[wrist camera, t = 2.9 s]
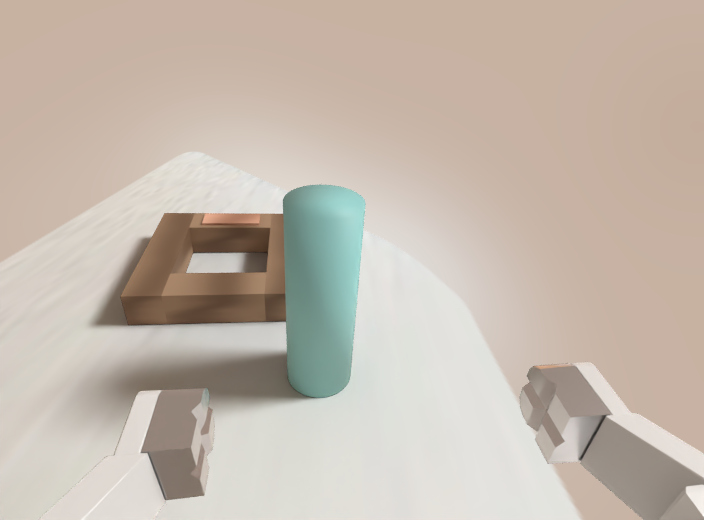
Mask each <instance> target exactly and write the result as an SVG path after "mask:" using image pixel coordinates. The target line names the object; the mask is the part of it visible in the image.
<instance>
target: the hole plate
mask: <svg viewBox="0 0 704 520" xmlns="http://www.w3.org/2000/svg"><path fill="white" fill-rule="evenodd" d="M193 252H268V259H267V270H266V272H257V273H186V271H187V268H188V265H189V262H190V260H191V257H192V254H193ZM120 298H121V301H122V305H123V308H124V311H125V315H126V318H127V322H128V325H145V324H184V323H222V322H260V321H286V296H285V258H284V220H283V214H209V213H165V214H164V215H163V217H162V219H161V221H160V223H159V225H158V227H157V229H156V230H155V232H154V234H153V236H152V238H151V240H150V242H149V244H148V245H147V247H146V249H145V251H144V253H143V255H142V257H141V259H140V260H139V262H138V264H137V266H136V268H135V270H134V272H133V274H132V275H131V277H130V279H129V281H128V283H127V285H126V287H125V289H124V290H123V292H122V294H121V296H120Z"/></svg>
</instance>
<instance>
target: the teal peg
mask: <svg viewBox="0 0 704 520" xmlns="http://www.w3.org/2000/svg"><path fill="white" fill-rule="evenodd" d="M364 214H365V200H364V199H363V197H362V196H361V195H359V194H358V193H356V192H354V191H352V190H350V189H347V188H343V187H339V186H332V185H310V186H303V187H300V188H297V189H294V190H292V191H290V192H289V193H287V194H286V195H285V197H284V199H283V220H284V258H285V296H286V334H287V372H288V380H289V382H290V384H291V385H292V387H293V388H294V389H295V390H296V391H298V392H299V393H301V394H303V395H306V396H309V397H315V398H323V397H329V396H332V395H335V394H337V393H338V392H340V391H341V390H343V389H344V388H345V387H346V385H347V384H348V382H349V379H350V374H351V362H352V351H353V340H354V328H355V317H356V306H357V294H358V283H359V271H360V260H361V249H362V237H363V226H364Z"/></svg>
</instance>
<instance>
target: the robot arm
mask: <svg viewBox="0 0 704 520" xmlns="http://www.w3.org/2000/svg"><path fill="white" fill-rule="evenodd" d="M527 377H528V379H529V381H530V382H529V383H528V384H527V385H525V386H524V387H523V388H522V391H521V394H520V408H521V412H522V415H523V417H524V419H525V421H526V423H527V425H529V426H530V427H531V428H533V429H534V430H535V431H537V433H536V438H535V441H536V442H537V444H538V446H539V448H540V450H541V452H542V454H543V456H544V458H545V459H546V461H547V463H548V464H551V463H566V462H580V464H581V465H582V466H583V467H584V468H585V469H587V470H588V471H589V472H590V473H591V474H592V475H593V476H595V477H596V478H597V479H598V480H599V481H600V482H602V484H604V485H605V486H606V487H607V488H608V489H609V490H610V491H612V492H613V493H614V494H615V495H616V496H617V497H618V498H619V499H621V500H622V501H623V502H624V503H625V504H626V505H628V506H629V507H630V508H631V509H632V510H633V511H634V512H635V513H637V514H638V515H639V516H640V517H641V518H642V519H643V520H704V454H703V453H702V452H700V451H699V450H697V449H695V448H694V447H692V446H690V445H689V444H687V443H685V442H684V441H682V440H680V439H679V438H677V437H676V436H674V435H672V434H670V433H669V432H667V431H666V430H664V429H662V428H661V427H659V426H657V425H655V424H654V423H652V422H651V421H649V420H648V419H646V418H644V417H643V416H641V415H639V414H638V413H634V414H632V413H631V412H630V411H629V409H628V408H627V407H626V406H625V404H624V403H623V402H622V400H621V399H620V398H619V397H618V395H617V394H616V393H615V391H614V390H613V389H612V388H611V386H610V385H609V384H608V382H607V381H606V380H605V379H604V377H603V376H602V375H601V373H600V372H599V371H598V370H597V368H596V367H595V366H594V365H593V364H591V363H590V362H586V363H571V364H568V363H566V364H554V365H540V366H533V367H532V368H530V369H529V372H528V374H527ZM209 400H210V396H209V392H208V389H207V388H195V389H170V390H152V391H140V392H139V393H138V394H137V396H136V397H135V399H134V401H133V404H132V407H131V410H130V412H129V415H128V418H127V420H126V423H125V426H124V428H123V431H122V434H121V436H120V439H119V442H118V444H117V447H116V450H115V452H114V455H113V456H106V457H105V458H104V459H103V460H102V461H101V462H100V463H99V464H97V465H96V466H95V467H94V468H93V469H92V470H91V471H90V472H89V473H88V474H87V475H86V476H85V477H83V478H82V479H81V480H80V481H79V482H78V483H77V484H76V485H75V486H74V487H73V488H72V489H71V490H70V491H68V492H67V493H66V494H65V495H64V496H63V497H62V498H61V499H60V500H59V501H58V502H57V503H56V504H54V505H53V506H52V507H51V508H50V509H49V510H48V511H47V512H46V513H45V514H44V515H43V516H42V517H40V518H39V519H38V520H153V519H154V518H155V517H156V515H157V514H158V513H159V511H160V510H161V509H162V507H163V506H164V505H165V503H166V501H165V500H172V499H181V498H189V497H197V496H204V495H205V489H206V484H207V478H208V472H209V465H208V460H207V455H208V454H209V453H210V452H211V451H212V448H213V442H214V428H215V424H214V415H213V410H212V409H211V408H209V407H208V405H209Z"/></svg>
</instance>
